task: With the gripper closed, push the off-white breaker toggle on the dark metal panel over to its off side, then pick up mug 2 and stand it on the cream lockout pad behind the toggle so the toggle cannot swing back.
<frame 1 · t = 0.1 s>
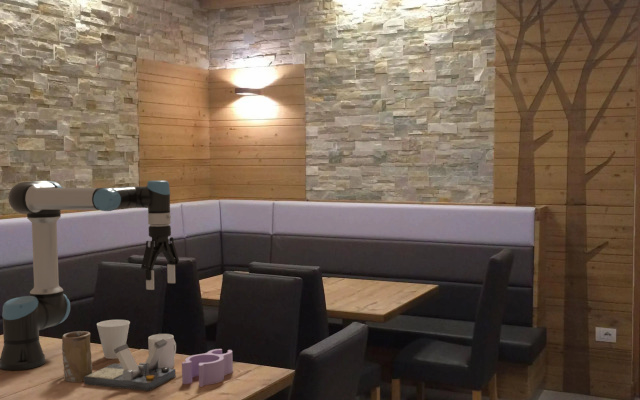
hand: (161, 286, 255), 28 cm above the table, fingers open, 13 cm apart
cup: (114, 356, 270), on the table
clip: (209, 377, 243), on the table
mug 2: (73, 378, 244), on the table
toggle B: (154, 355, 242), point 7 cm above the table, hinge at 30.0°
mug: (165, 366, 256), on the table
panel: (130, 380, 240), on the table
toggle A: (127, 361, 235), point 7 cm above the table, hinge at -30.0°
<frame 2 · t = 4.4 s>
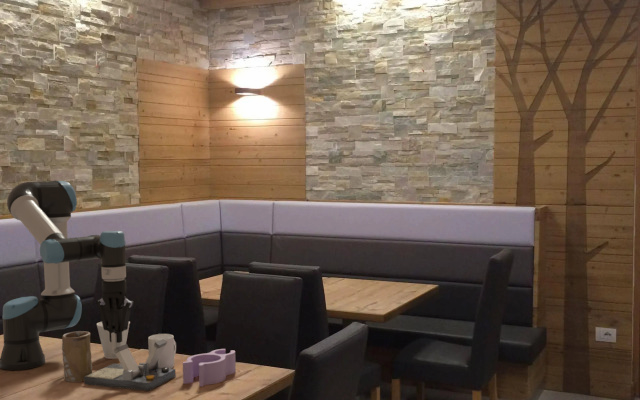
hand: (116, 352, 236), 10 cm above the table, fingers closed
toggle A: (127, 361, 235), point 7 cm above the table, hinge at -30.0°, touching gripper
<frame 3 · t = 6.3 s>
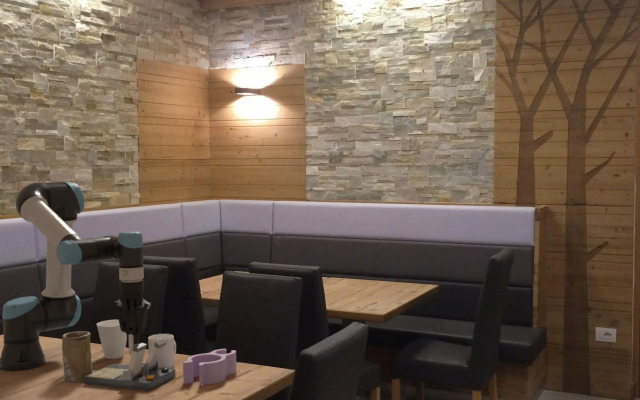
hand: (133, 353, 234), 10 cm above the table, fingers closed
toggle A: (136, 361, 234), point 8 cm above the table, hinge at 15.7°, touching gripper
everything else where it was.
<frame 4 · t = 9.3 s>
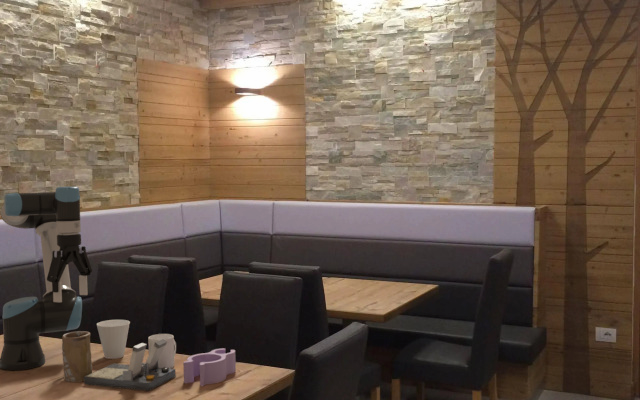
hand: (71, 298, 242), 27 cm above the table, fingers open, 12 cm apart
toggle A: (136, 361, 234), point 8 cm above the table, hinge at 15.8°
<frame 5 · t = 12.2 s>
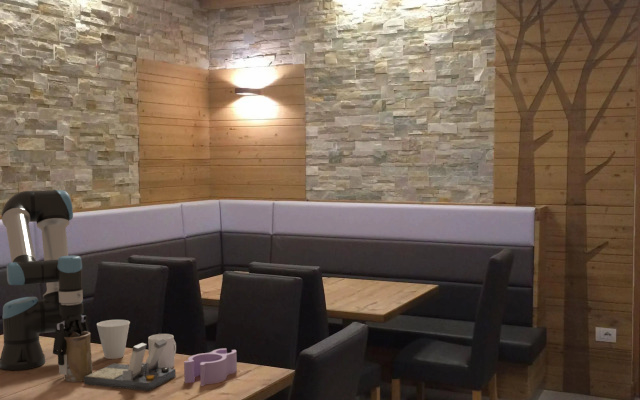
hand: (73, 370, 244), 3 cm above the table, fingers closed on mug 2, 9 cm apart
mug 2: (73, 378, 244), on the table, touching gripper
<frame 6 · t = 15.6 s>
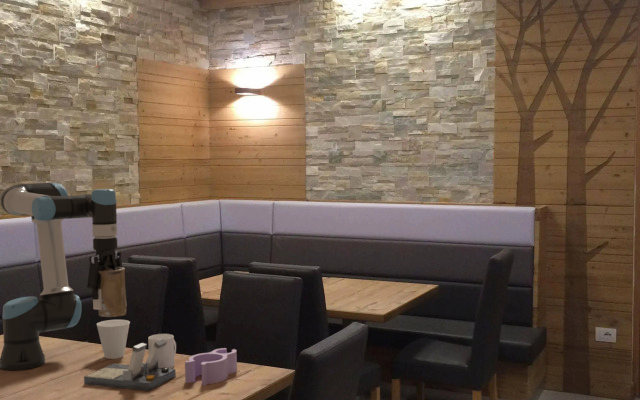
hand: (107, 306, 238), 25 cm above the table, fingers closed on mug 2, 9 cm apart
mug 2: (107, 314, 238), point 22 cm above the table, touching gripper
when the fingers open (7 cm above the table, at t = 19.2 s): mug 2 drops 1 cm, resting on panel.
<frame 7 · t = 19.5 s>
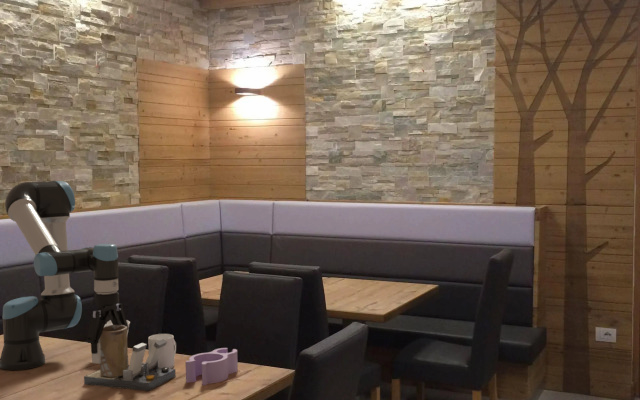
hand: (108, 357, 239), 8 cm above the table, fingers open, 12 cm apart
mug 2: (109, 372, 239), point 3 cm above the table, touching panel
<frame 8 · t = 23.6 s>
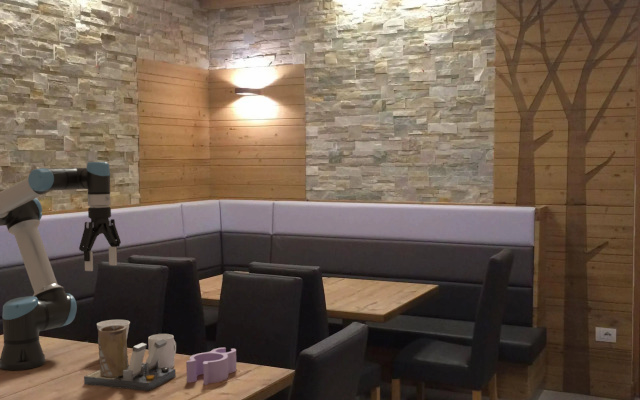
hand: (101, 267, 255), 35 cm above the table, fingers open, 13 cm apart
at the end: toggle A at +16° (first picture: -30°); mug 2 inside the target area (0.2 cm from its centre), point 2.6 cm above the table; mug 2 tilted 0° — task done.
